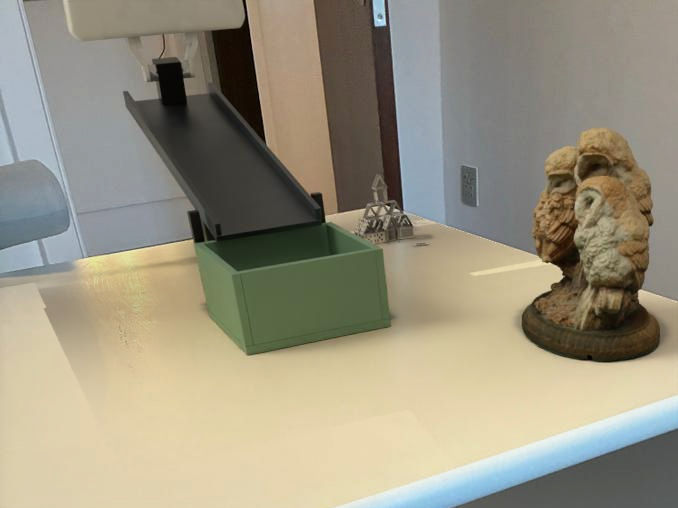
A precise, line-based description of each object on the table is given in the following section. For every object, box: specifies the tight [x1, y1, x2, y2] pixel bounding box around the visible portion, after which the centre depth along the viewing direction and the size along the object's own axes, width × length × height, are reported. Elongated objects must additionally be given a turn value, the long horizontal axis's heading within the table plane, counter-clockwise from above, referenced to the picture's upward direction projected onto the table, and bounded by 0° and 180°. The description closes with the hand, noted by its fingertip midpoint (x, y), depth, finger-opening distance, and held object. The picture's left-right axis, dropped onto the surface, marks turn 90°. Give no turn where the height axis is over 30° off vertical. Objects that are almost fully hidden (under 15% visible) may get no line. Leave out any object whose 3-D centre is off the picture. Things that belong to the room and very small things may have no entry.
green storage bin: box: [193, 221, 392, 356], centre depth 95 cm, size 15×15×7 cm
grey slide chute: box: [122, 56, 322, 242], centre depth 106 cm, size 11×38×5 cm, turn 27°
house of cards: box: [352, 173, 429, 247], centre depth 120 cm, size 9×9×8 cm
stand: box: [186, 191, 327, 309], centre depth 108 cm, size 14×21×10 cm, turn 27°
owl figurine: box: [521, 126, 661, 362], centre depth 85 cm, size 18×12×17 cm, turn 21°
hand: (170, 79), depth 115 cm, fingers closed on grey slide chute, 3 cm apart
